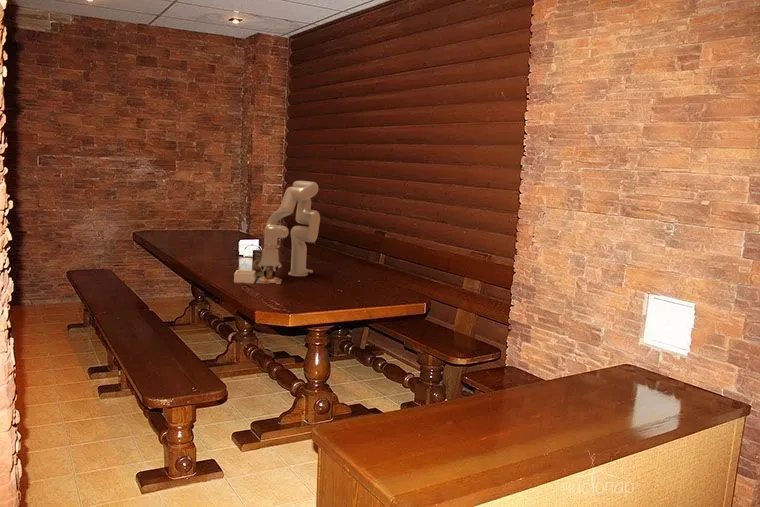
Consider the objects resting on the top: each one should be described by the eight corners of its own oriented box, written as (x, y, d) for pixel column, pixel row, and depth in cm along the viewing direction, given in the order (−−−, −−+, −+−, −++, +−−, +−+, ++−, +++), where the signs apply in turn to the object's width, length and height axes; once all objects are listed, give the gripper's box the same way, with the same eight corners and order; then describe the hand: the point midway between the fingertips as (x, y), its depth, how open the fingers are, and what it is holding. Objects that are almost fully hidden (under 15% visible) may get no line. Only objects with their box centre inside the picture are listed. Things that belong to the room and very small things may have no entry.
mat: (281, 279, 383) (281, 279, 383) (280, 284, 369) (280, 283, 369) (258, 278, 381) (258, 278, 381) (256, 283, 368) (256, 282, 368)
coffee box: (251, 275, 391) (252, 250, 388) (257, 274, 396) (258, 249, 394) (262, 277, 386) (263, 251, 384) (269, 276, 392) (270, 250, 390)
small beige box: (255, 280, 376) (255, 270, 375) (253, 284, 365) (253, 274, 364) (236, 279, 375) (236, 269, 374) (233, 283, 364) (234, 273, 363)
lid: (280, 279, 382) (280, 269, 381) (278, 283, 370) (279, 272, 369) (260, 278, 380) (260, 268, 379) (258, 282, 369) (258, 271, 368)
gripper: (285, 246, 377) (283, 276, 379) (256, 245, 375) (255, 275, 378) (284, 248, 369) (283, 279, 372) (255, 247, 368) (254, 278, 370)
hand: (269, 277), depth 375 cm, fingers closed on lid, 4 cm apart
